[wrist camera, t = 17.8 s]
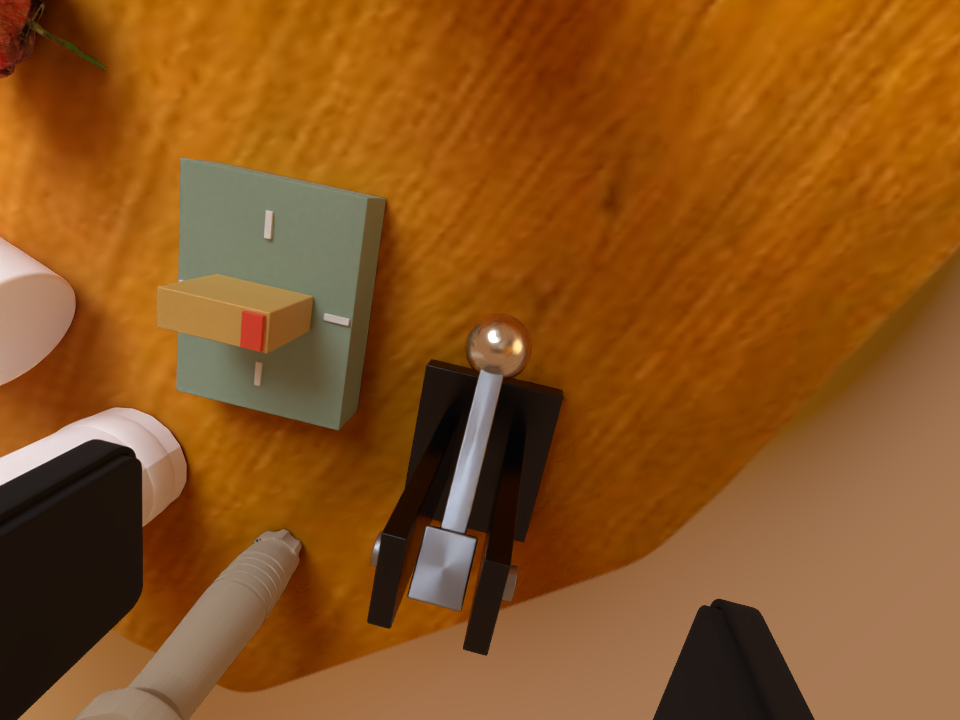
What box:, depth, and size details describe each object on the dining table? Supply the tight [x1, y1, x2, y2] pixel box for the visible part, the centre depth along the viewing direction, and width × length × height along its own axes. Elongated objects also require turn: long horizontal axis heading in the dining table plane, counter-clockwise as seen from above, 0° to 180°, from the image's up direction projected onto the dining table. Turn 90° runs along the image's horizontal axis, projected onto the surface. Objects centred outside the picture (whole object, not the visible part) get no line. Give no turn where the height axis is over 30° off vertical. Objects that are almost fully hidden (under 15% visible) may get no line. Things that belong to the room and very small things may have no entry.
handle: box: [74, 529, 302, 720], centre depth 29 cm, size 5×6×15 cm
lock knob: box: [157, 274, 313, 354], centre depth 26 cm, size 6×2×5 cm, turn 78°
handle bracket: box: [367, 359, 563, 655], centre depth 26 cm, size 10×8×13 cm
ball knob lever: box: [407, 314, 532, 612], centre depth 23 cm, size 13×3×3 cm
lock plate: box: [177, 158, 386, 430], centre depth 30 cm, size 13×10×3 cm
